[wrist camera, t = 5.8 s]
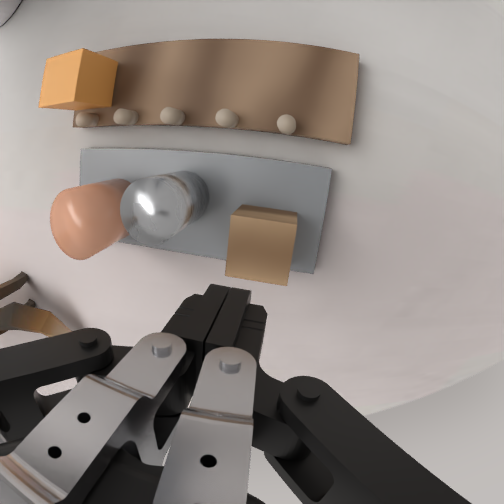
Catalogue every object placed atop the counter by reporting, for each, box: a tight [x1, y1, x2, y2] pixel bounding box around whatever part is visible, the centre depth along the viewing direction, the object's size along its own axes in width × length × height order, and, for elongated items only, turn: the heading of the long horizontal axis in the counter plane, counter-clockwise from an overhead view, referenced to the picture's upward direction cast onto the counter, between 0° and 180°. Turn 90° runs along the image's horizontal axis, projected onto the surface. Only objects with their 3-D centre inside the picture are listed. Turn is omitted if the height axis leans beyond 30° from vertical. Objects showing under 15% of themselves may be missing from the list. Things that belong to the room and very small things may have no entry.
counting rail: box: [73, 39, 359, 145], centre depth 19 cm, size 23×7×3 cm, turn 83°
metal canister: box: [120, 171, 209, 245], centre depth 19 cm, size 4×4×6 cm
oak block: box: [225, 204, 297, 286], centre depth 20 cm, size 4×4×4 cm
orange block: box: [39, 48, 118, 110], centre depth 17 cm, size 4×4×5 cm
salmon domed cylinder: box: [50, 178, 131, 260], centre depth 20 cm, size 5×5×6 cm
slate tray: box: [80, 148, 332, 274], centre depth 23 cm, size 8×21×1 cm, turn 83°
